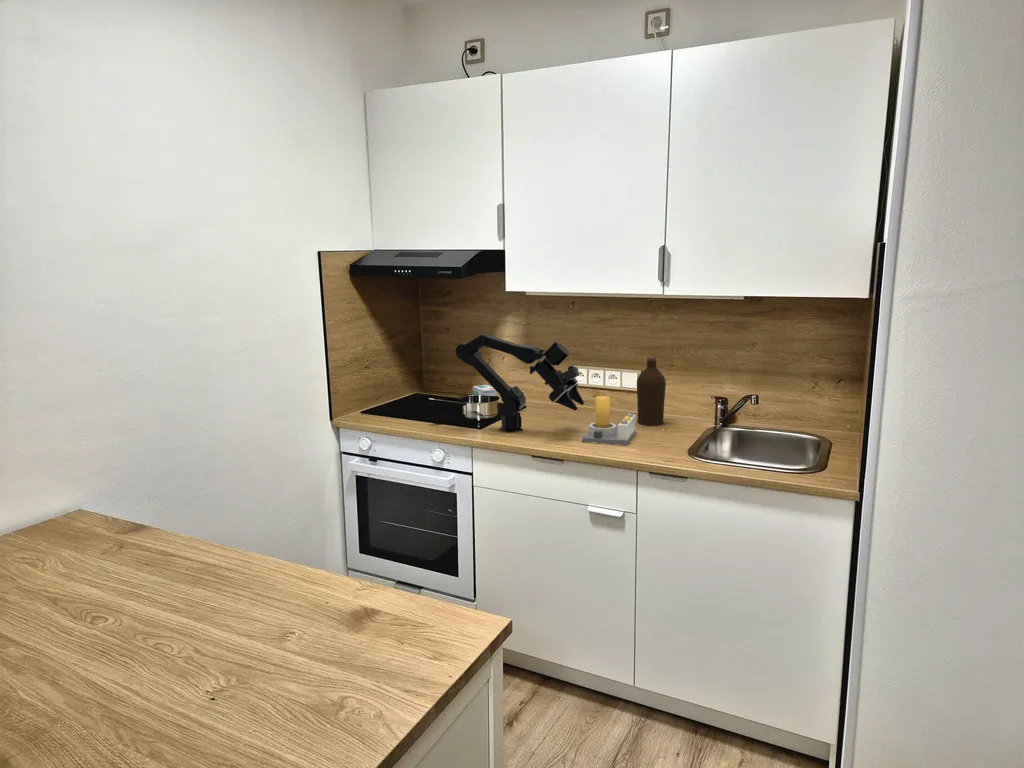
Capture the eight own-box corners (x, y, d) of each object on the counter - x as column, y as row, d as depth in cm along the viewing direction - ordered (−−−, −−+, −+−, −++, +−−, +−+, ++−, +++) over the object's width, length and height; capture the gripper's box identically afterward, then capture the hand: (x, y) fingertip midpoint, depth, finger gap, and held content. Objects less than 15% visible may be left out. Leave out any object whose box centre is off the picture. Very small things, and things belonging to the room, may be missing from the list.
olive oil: (652, 427, 249) (653, 360, 244) (630, 422, 257) (631, 357, 252) (670, 422, 255) (672, 356, 251) (648, 418, 263) (649, 354, 259)
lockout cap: (595, 434, 235) (595, 398, 233) (595, 430, 240) (595, 395, 238) (610, 434, 235) (610, 398, 232) (609, 430, 240) (609, 395, 237)
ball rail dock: (582, 442, 231) (582, 419, 230) (594, 429, 248) (594, 408, 246) (626, 445, 226) (626, 422, 224) (635, 432, 242) (636, 410, 241)
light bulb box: (472, 411, 281) (472, 385, 279) (487, 409, 283) (487, 384, 281) (482, 416, 271) (482, 390, 269) (498, 414, 274) (497, 388, 272)
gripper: (557, 363, 229) (589, 397, 227) (572, 355, 246) (602, 386, 244) (535, 385, 233) (566, 418, 231) (551, 375, 250) (580, 407, 248)
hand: (580, 406), depth 239 cm, fingers open, 9 cm apart
